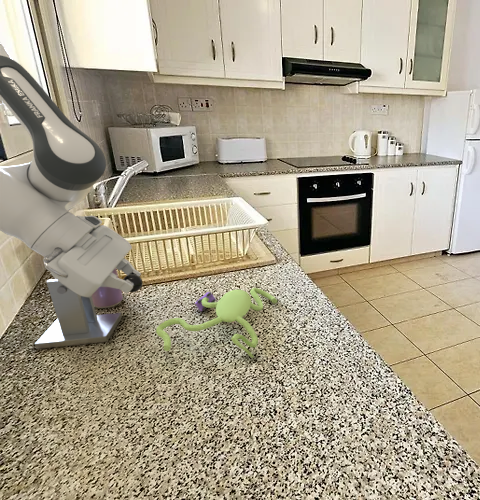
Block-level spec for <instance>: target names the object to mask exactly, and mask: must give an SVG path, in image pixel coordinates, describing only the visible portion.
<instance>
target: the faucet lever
mask: <svg viewBox="0 0 480 500" xmlns="http://www.w3.org/2000/svg"><path fill="white" fill-rule="evenodd" d="M127 279H128V280H129V281H131V282H132V283H134V287H133V288H132V290H131V291H130V292H129V293H136V292H138V291H140V290H141V289H142V287H143V285H144V282H143V279H142V276H140V277H139V276H138V275H135V274H130V275H126V276H124V278H123V279H122V280H125V281H126V280H127ZM100 287H107V286H106V285H104V284H103V283H102V285H101V286H100Z"/></svg>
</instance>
